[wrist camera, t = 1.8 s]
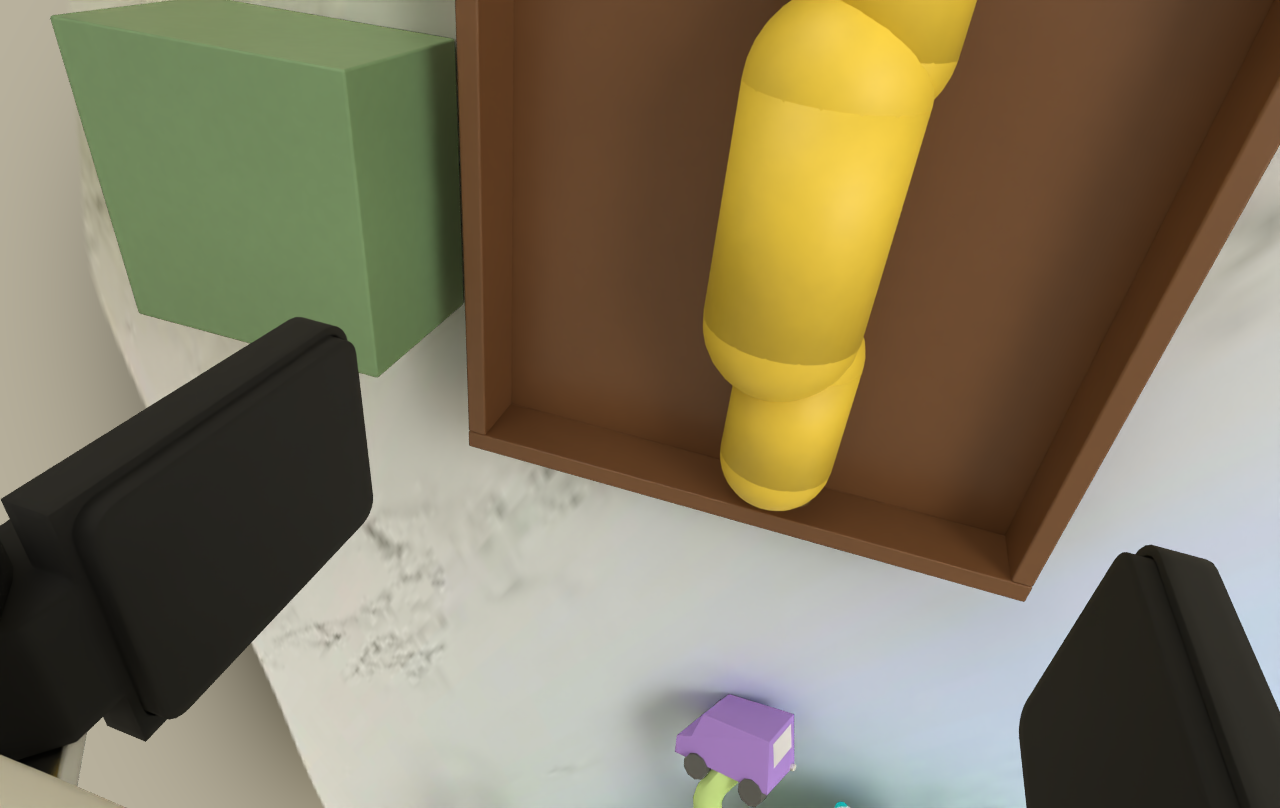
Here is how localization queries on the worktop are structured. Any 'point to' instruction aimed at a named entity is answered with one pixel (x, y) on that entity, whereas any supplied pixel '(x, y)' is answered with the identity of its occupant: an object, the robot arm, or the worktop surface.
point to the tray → (912, 277)
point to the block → (275, 167)
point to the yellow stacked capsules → (815, 223)
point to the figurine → (738, 751)
